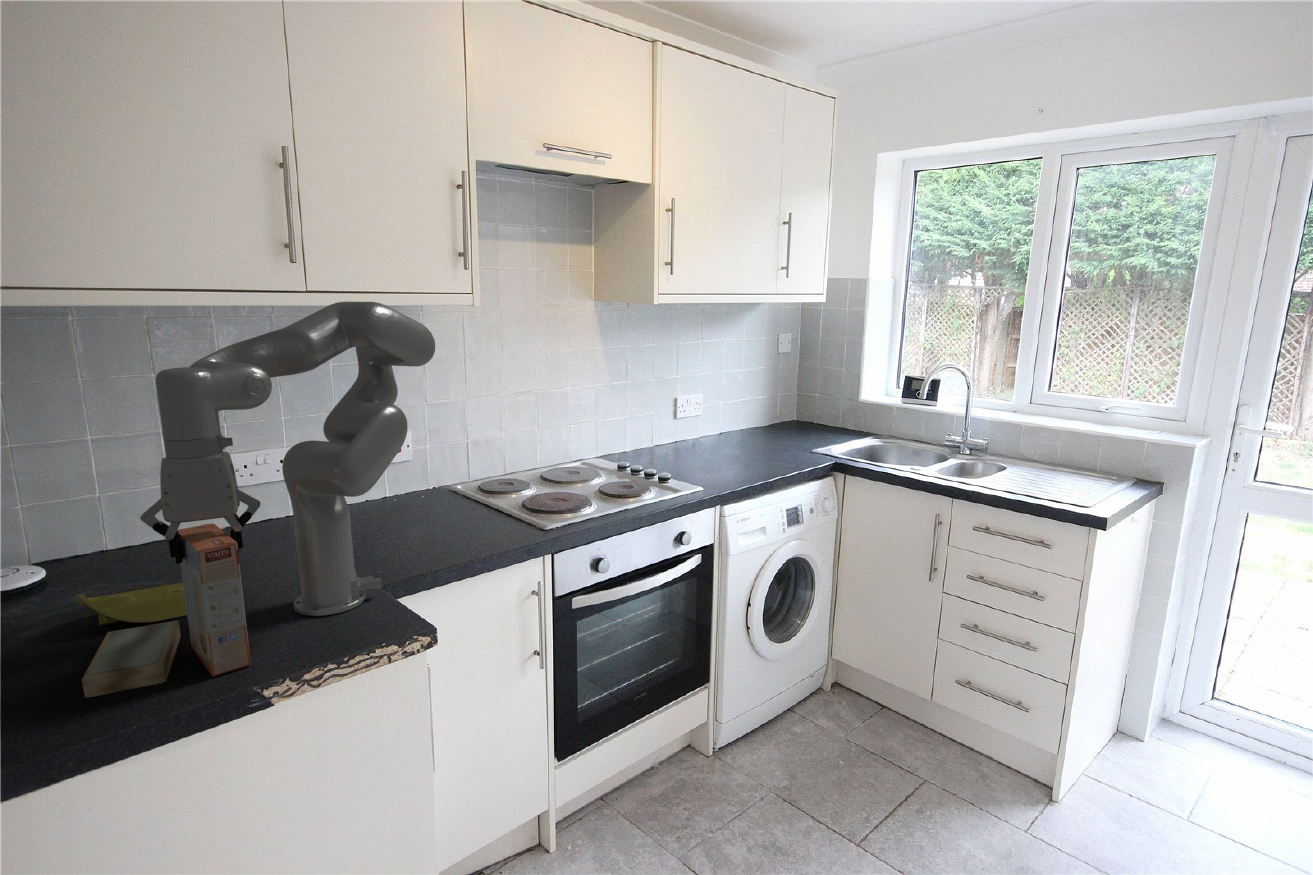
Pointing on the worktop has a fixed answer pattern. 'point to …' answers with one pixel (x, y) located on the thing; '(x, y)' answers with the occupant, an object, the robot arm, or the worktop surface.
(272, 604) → the worktop surface
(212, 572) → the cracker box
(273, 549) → the worktop surface
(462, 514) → the worktop surface
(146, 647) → the stand
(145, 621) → the plastic component
